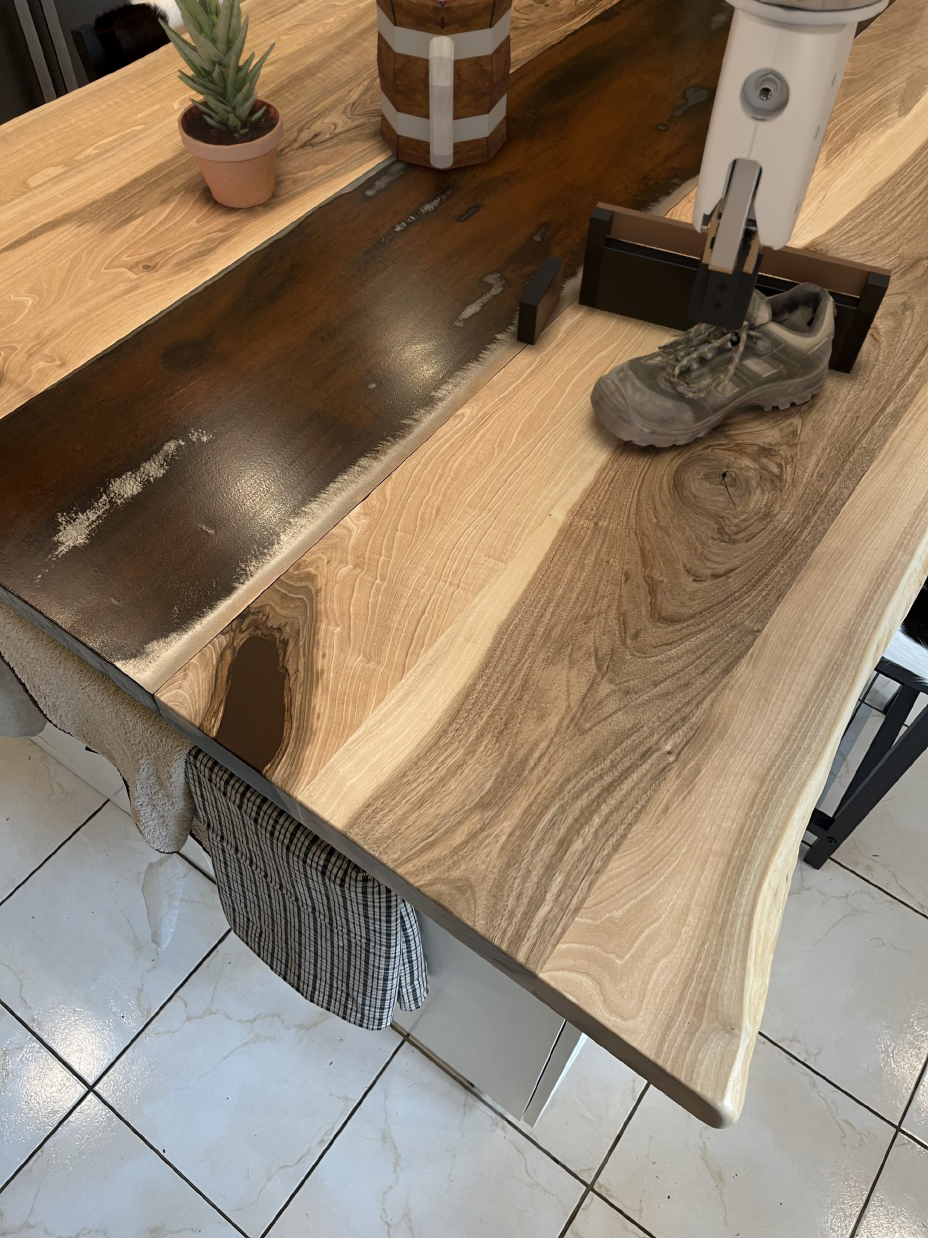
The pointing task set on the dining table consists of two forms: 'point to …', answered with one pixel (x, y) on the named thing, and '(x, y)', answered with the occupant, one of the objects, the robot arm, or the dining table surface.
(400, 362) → the dining table surface
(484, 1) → the mug
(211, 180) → the potted plant
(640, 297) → the shoe rack
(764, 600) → the dining table surface
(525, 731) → the dining table surface
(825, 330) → the hiking shoe
